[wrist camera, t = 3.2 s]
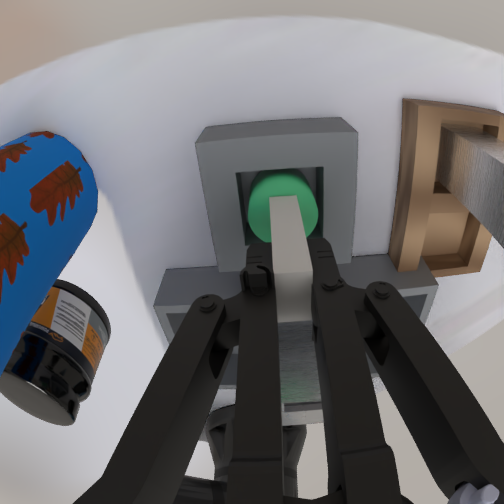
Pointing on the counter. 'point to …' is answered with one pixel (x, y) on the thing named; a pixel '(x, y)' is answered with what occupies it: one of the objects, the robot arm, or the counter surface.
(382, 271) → the tote
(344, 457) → the robot arm
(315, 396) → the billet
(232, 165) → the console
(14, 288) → the thermos
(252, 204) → the button
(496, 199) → the block
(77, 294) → the supplement container
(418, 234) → the pallets
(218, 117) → the counter surface
